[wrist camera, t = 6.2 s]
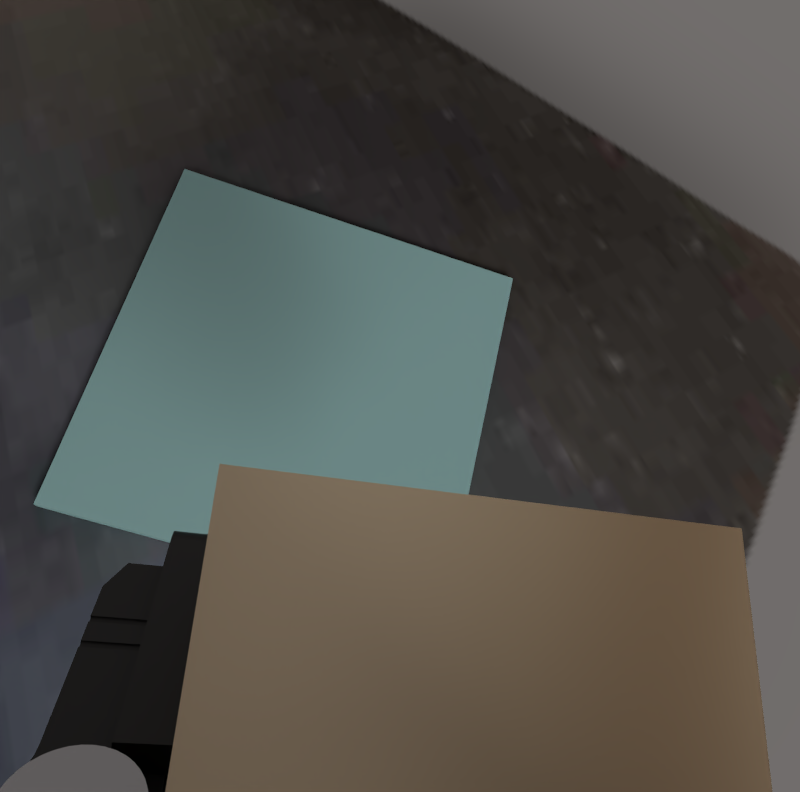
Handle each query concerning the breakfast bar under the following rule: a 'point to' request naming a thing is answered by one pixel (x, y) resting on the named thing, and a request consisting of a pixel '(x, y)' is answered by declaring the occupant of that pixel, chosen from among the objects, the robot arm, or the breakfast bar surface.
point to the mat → (277, 364)
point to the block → (463, 647)
